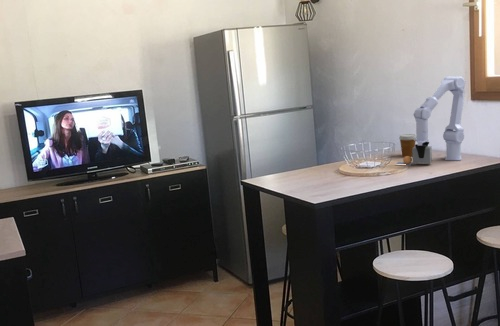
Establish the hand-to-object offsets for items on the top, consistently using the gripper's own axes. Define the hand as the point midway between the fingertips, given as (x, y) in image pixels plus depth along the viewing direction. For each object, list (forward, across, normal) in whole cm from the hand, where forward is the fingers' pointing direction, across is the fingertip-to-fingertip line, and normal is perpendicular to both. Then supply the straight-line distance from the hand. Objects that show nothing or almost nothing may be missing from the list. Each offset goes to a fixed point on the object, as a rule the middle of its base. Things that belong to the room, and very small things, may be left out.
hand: (422, 156), depth 279 cm
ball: (+2, 0, -8) cm, 8 cm away
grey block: (+3, 0, 0) cm, 3 cm away
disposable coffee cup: (+4, -22, -11) cm, 25 cm away
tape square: (+4, 0, -9) cm, 10 cm away
